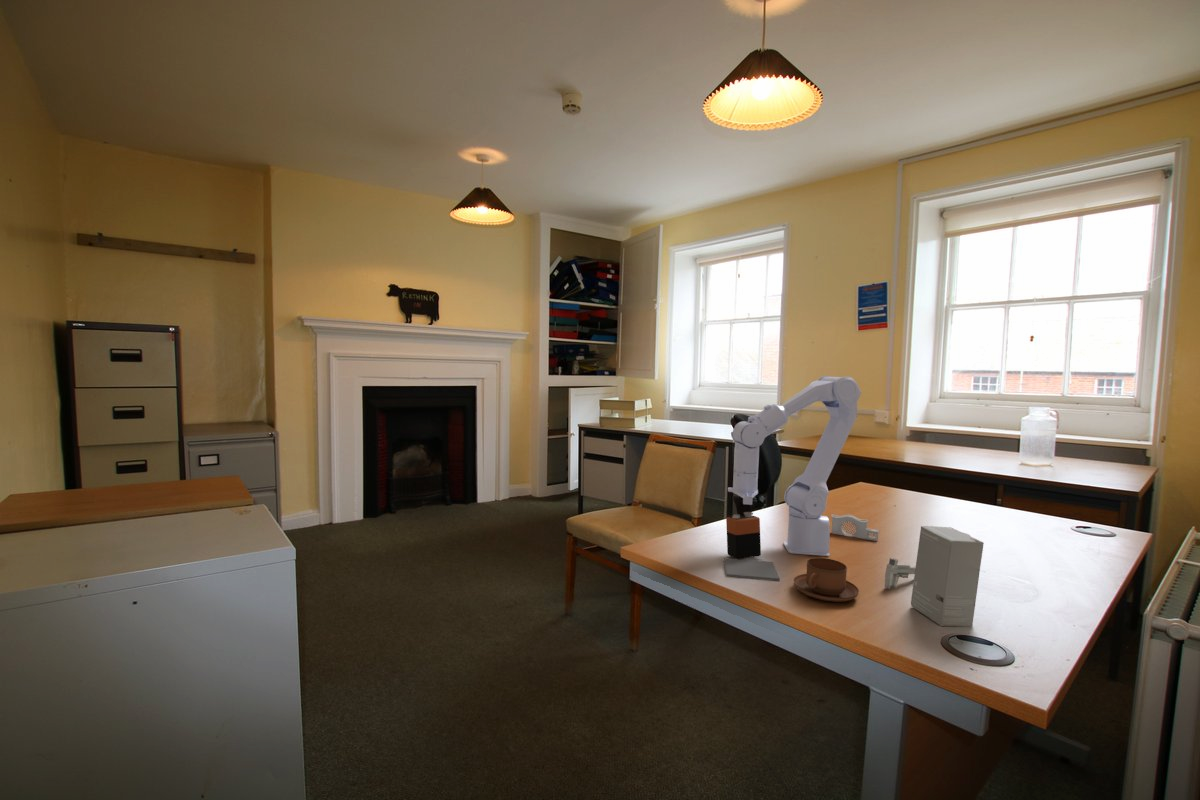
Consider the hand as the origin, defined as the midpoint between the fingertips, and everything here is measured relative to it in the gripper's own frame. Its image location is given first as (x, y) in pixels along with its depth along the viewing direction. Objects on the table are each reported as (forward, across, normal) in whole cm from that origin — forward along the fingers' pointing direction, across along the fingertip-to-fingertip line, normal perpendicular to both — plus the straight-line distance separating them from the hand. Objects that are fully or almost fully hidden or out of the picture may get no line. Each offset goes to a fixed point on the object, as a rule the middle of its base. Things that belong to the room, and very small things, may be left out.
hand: (743, 526), depth 132 cm
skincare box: (+6, +28, +33) cm, 44 cm away
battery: (+6, +4, 0) cm, 7 cm away
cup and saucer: (+6, +22, +14) cm, 27 cm away
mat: (+6, +12, +1) cm, 14 cm away
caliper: (+6, +10, +35) cm, 37 cm away
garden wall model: (+6, -19, +31) cm, 37 cm away
